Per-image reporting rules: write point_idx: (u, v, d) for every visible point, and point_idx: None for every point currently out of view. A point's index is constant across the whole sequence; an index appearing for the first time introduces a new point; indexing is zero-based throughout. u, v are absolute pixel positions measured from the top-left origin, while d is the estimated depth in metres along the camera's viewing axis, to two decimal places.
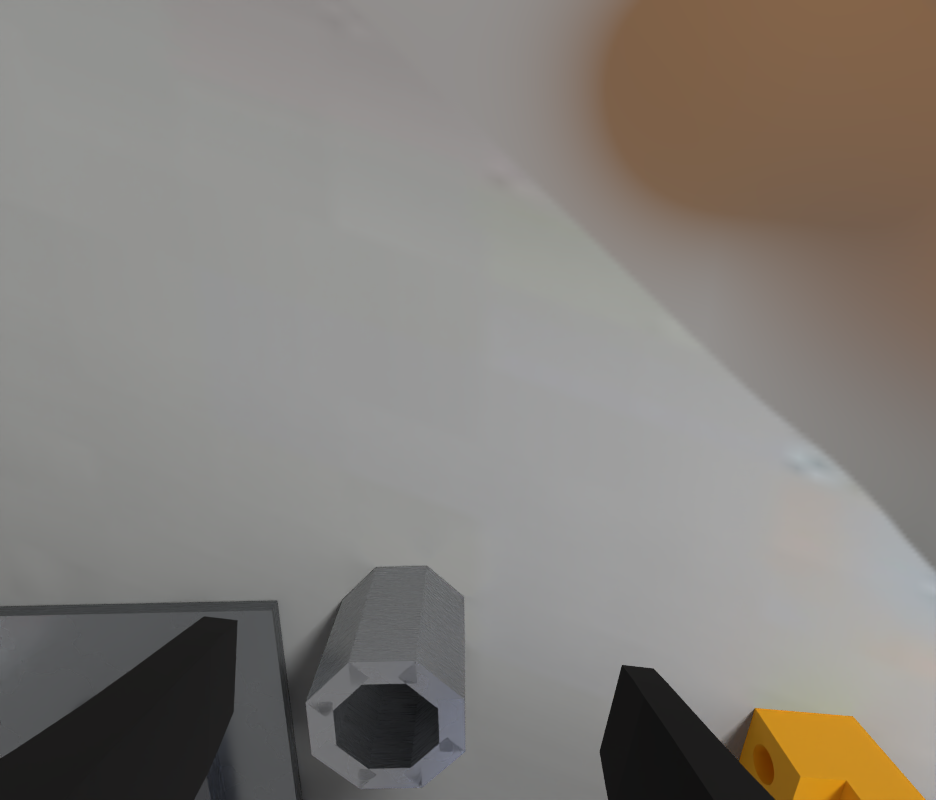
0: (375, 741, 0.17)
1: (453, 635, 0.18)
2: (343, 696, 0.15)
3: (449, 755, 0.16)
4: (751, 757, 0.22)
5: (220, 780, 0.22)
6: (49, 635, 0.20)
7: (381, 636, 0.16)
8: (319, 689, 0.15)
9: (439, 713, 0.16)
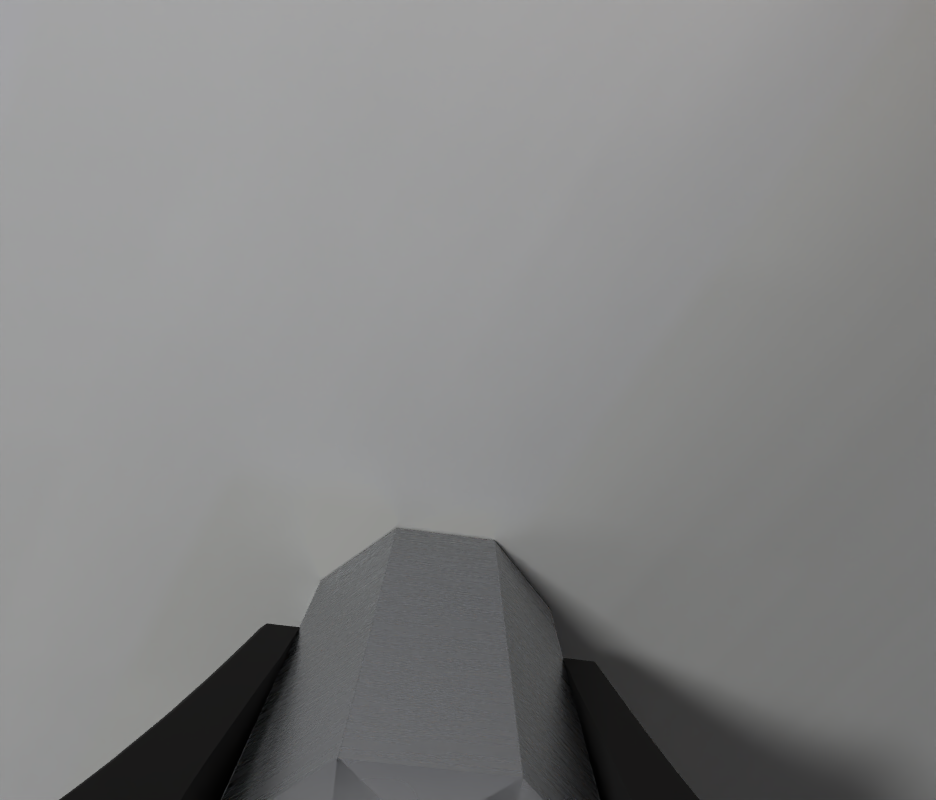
0: None
1: (349, 631, 0.08)
2: None
3: None
4: None
5: None
6: None
7: None
8: None
9: None
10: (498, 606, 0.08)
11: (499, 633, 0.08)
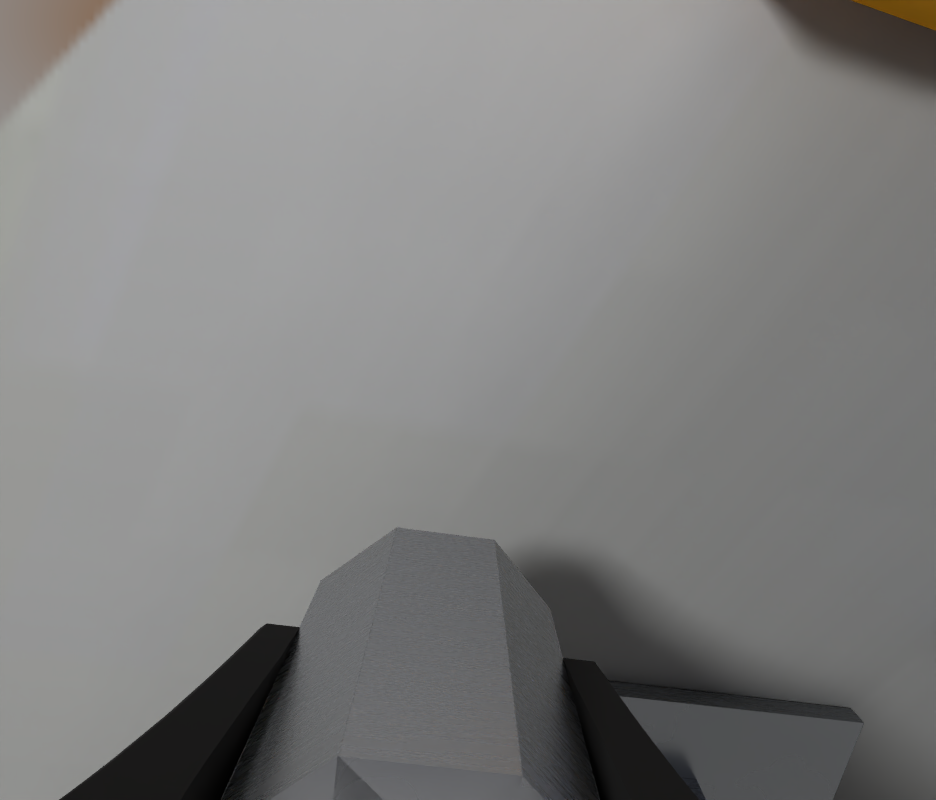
0: None
1: (349, 630, 0.08)
2: None
3: None
4: None
5: None
6: None
7: None
8: None
9: None
10: (498, 605, 0.08)
11: (499, 632, 0.08)
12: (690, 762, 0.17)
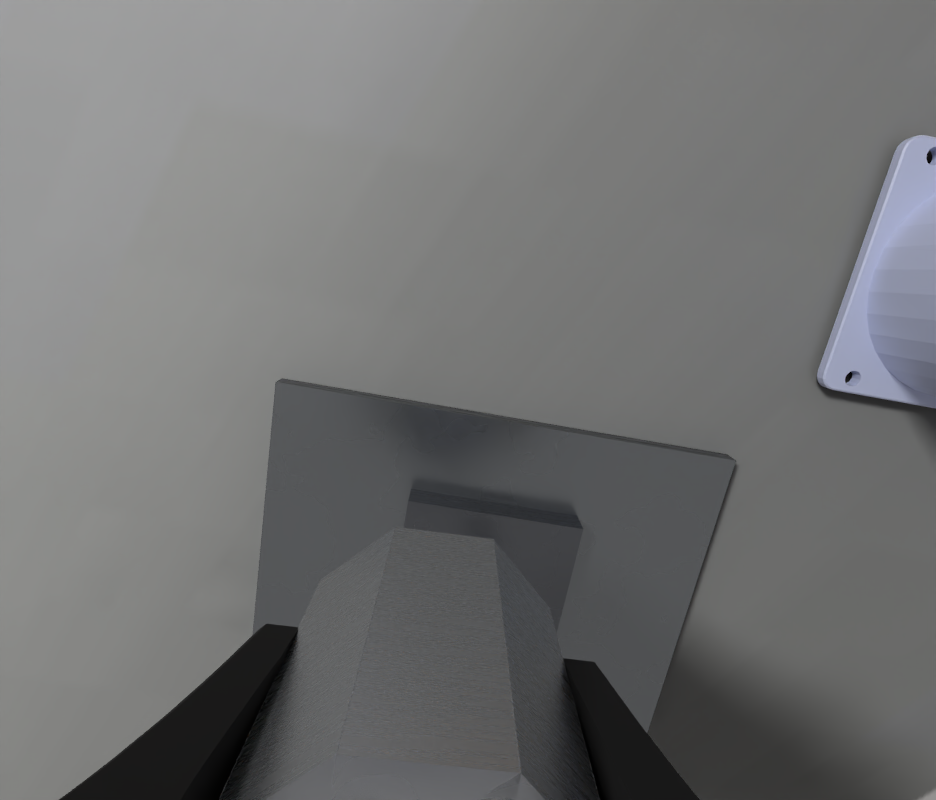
0: None
1: (347, 629, 0.08)
2: None
3: None
4: None
5: (501, 505, 0.18)
6: (279, 611, 0.19)
7: None
8: None
9: None
10: (497, 604, 0.08)
11: (498, 630, 0.08)
12: (571, 497, 0.18)
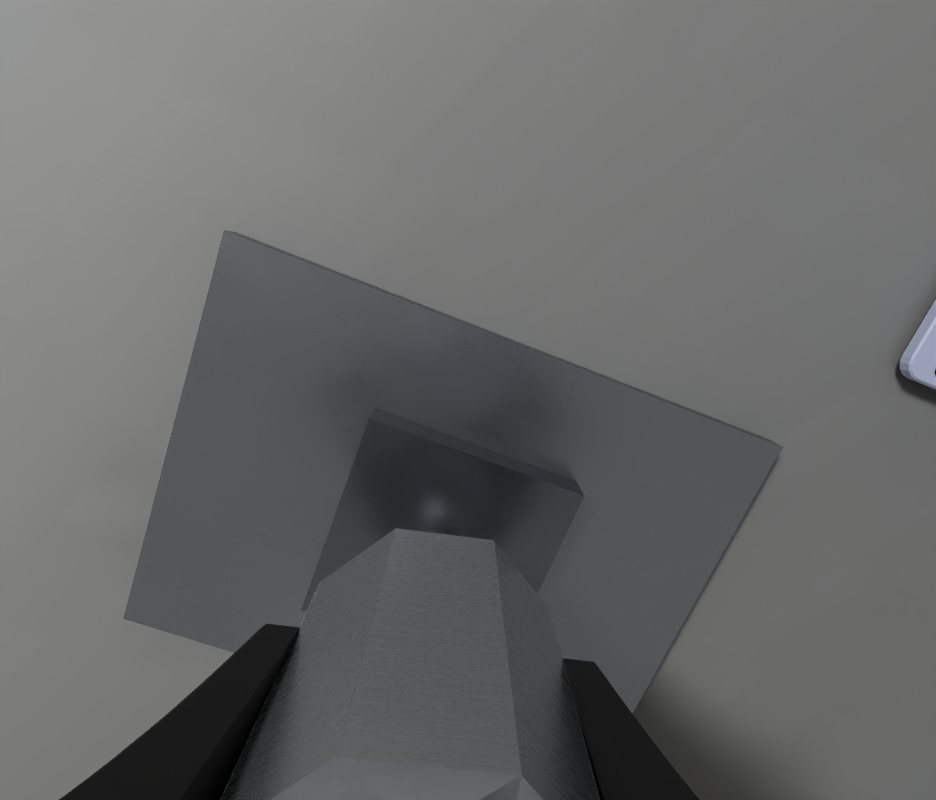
0: None
1: (348, 630, 0.08)
2: None
3: None
4: None
5: (485, 450, 0.14)
6: (177, 536, 0.15)
7: None
8: None
9: None
10: (497, 605, 0.08)
11: (498, 632, 0.08)
12: (573, 456, 0.14)
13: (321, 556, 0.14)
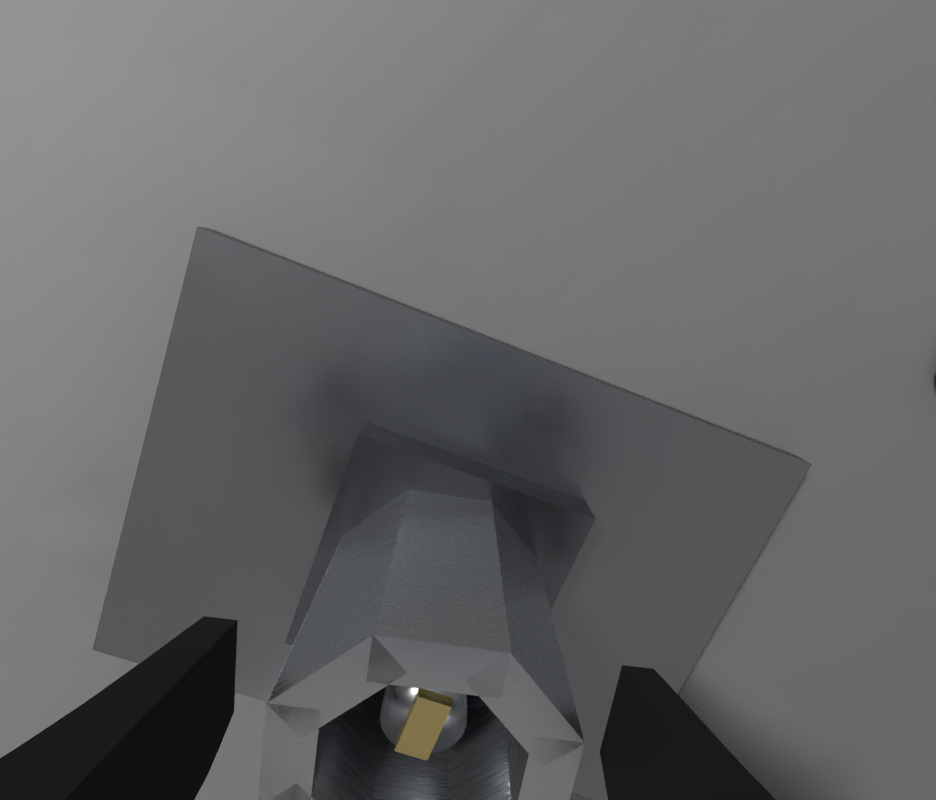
0: (510, 758, 0.09)
1: (373, 562, 0.10)
2: None
3: (513, 683, 0.07)
4: None
5: (486, 467, 0.13)
6: (150, 561, 0.14)
7: None
8: None
9: (403, 683, 0.07)
10: (494, 547, 0.10)
11: (494, 566, 0.10)
12: (583, 474, 0.13)
13: (306, 584, 0.13)
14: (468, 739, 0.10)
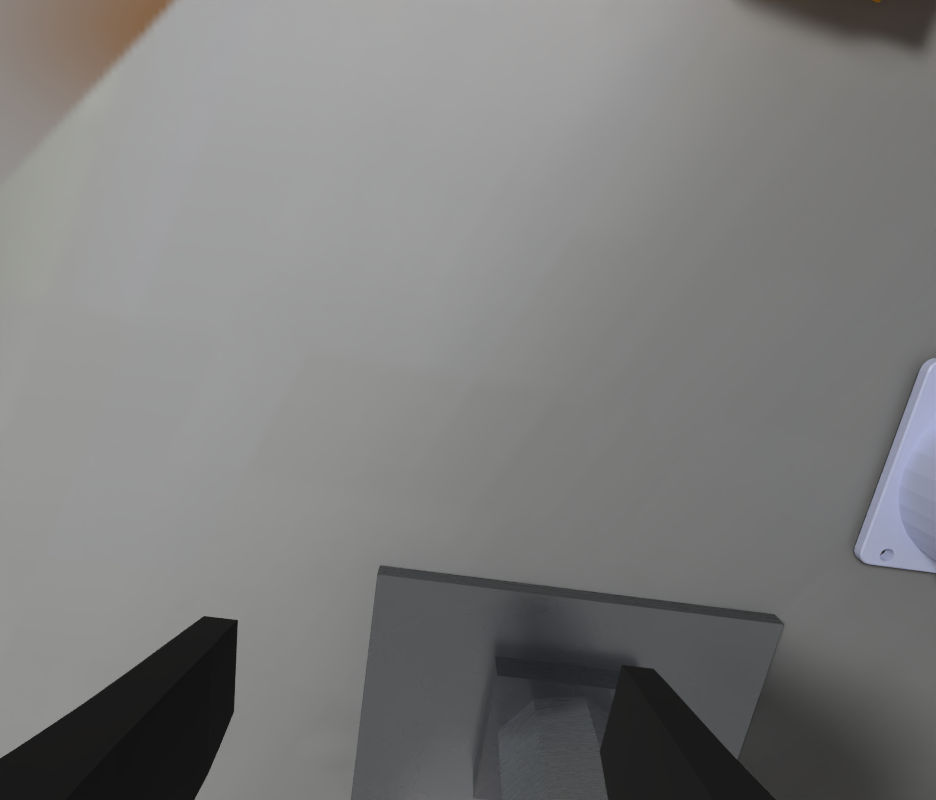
0: None
1: (533, 772, 0.17)
2: None
3: None
4: None
5: (574, 667, 0.21)
6: (377, 759, 0.22)
7: None
8: None
9: None
10: (596, 745, 0.18)
11: (600, 762, 0.17)
12: (637, 658, 0.20)
13: (480, 762, 0.20)
14: None
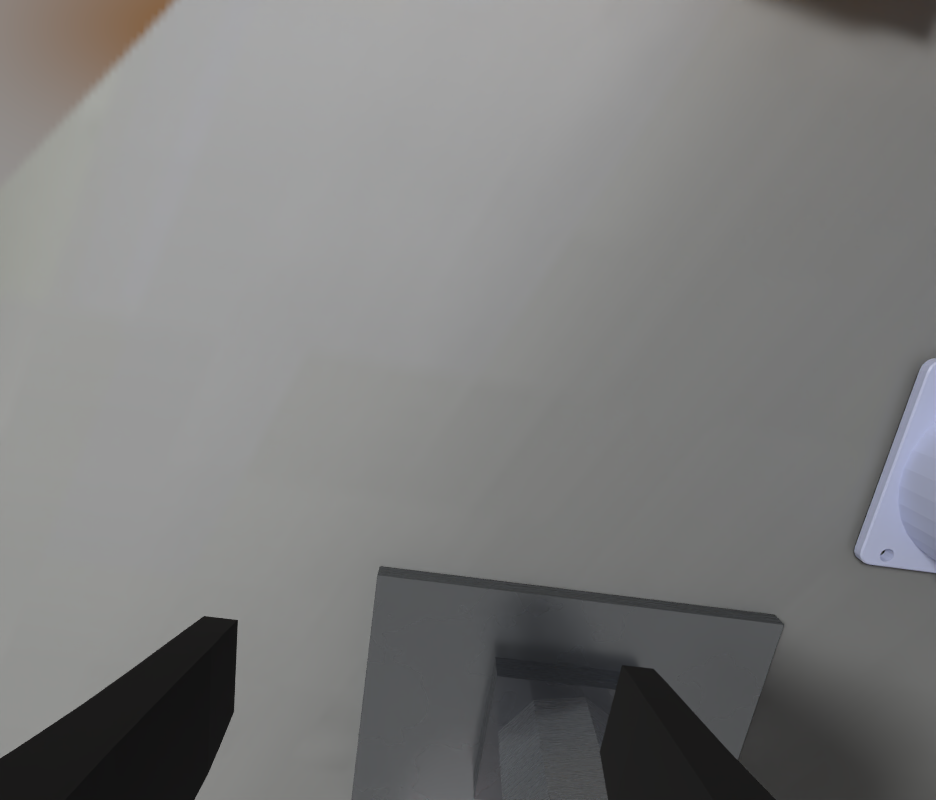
0: None
1: (533, 773, 0.17)
2: None
3: None
4: None
5: (574, 667, 0.21)
6: (377, 760, 0.22)
7: None
8: None
9: None
10: (597, 745, 0.18)
11: (601, 763, 0.17)
12: (637, 659, 0.20)
13: (481, 763, 0.20)
14: None
